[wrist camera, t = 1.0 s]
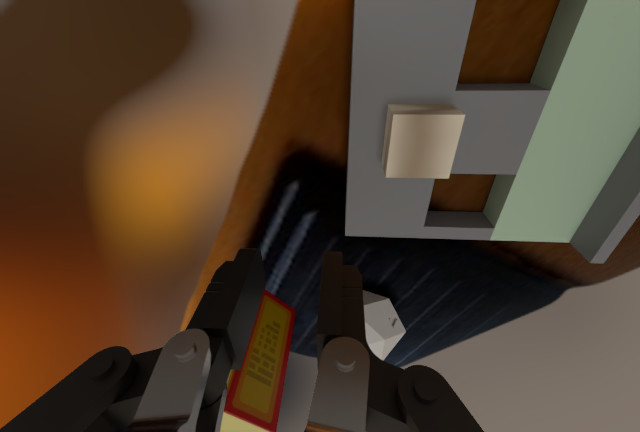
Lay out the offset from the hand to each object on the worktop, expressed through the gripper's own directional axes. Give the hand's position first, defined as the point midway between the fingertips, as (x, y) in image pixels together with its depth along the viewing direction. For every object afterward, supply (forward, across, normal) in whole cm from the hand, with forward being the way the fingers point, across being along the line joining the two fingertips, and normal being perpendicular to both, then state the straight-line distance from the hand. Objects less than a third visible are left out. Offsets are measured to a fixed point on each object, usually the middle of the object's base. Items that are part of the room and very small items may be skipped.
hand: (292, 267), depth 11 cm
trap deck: (+19, -14, 0) cm, 24 cm away
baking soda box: (+19, +10, +29) cm, 36 cm away
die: (+19, -6, +25) cm, 32 cm away
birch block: (+16, -8, 0) cm, 18 cm away
